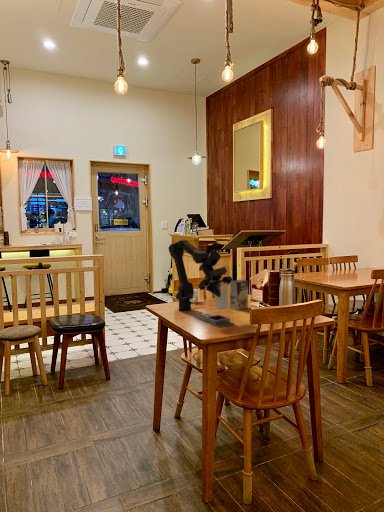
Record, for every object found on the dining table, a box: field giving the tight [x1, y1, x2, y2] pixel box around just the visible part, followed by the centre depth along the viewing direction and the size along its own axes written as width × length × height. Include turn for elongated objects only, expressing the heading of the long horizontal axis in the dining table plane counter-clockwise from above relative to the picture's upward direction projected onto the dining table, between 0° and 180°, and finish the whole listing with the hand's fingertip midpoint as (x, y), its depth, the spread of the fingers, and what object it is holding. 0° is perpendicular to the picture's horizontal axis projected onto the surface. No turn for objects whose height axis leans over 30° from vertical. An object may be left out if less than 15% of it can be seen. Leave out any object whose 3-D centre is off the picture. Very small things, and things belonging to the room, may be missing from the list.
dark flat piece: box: [192, 313, 235, 328], centre depth 192 cm, size 24×9×2 cm, turn 31°
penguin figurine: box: [190, 288, 199, 304], centre depth 236 cm, size 6×8×12 cm
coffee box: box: [229, 279, 249, 311], centre depth 219 cm, size 9×6×16 cm
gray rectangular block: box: [214, 282, 229, 311], centre depth 189 cm, size 5×5×13 cm
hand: (223, 296), depth 188 cm, fingers closed on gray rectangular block, 4 cm apart
